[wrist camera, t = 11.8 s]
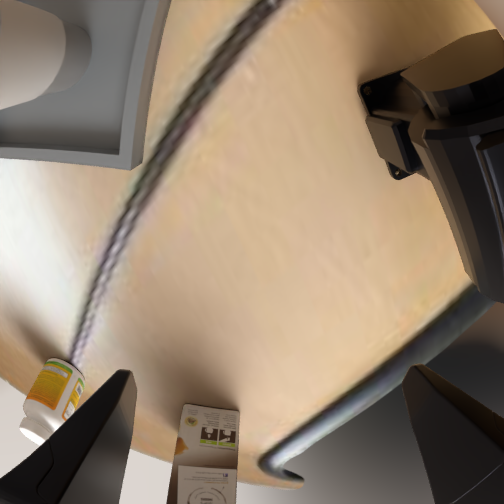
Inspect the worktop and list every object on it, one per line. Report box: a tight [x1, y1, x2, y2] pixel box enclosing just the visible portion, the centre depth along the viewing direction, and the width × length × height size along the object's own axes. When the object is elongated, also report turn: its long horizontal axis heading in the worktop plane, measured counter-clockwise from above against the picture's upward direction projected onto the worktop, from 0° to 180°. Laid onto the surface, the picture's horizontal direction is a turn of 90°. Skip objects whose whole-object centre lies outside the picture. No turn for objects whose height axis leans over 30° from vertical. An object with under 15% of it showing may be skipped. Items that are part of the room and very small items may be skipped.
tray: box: [0, 0, 171, 170], centre depth 13 cm, size 14×14×2 cm
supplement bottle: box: [19, 358, 85, 446], centre depth 24 cm, size 5×5×10 cm
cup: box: [0, 0, 92, 110], centre depth 8 cm, size 7×7×12 cm
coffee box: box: [167, 404, 240, 504], centre depth 25 cm, size 9×6×16 cm
